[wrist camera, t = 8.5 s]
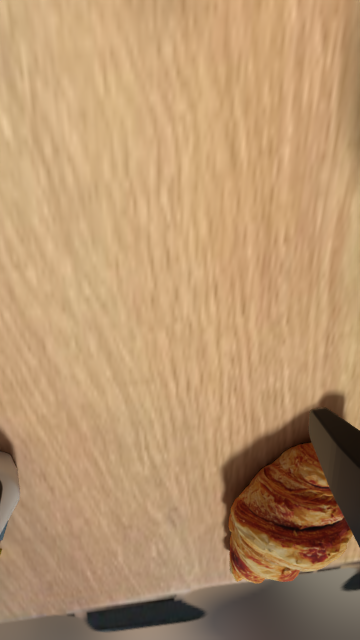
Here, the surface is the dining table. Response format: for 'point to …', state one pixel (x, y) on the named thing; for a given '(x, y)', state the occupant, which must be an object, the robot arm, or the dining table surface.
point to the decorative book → (2, 534)
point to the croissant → (286, 520)
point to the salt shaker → (8, 488)
